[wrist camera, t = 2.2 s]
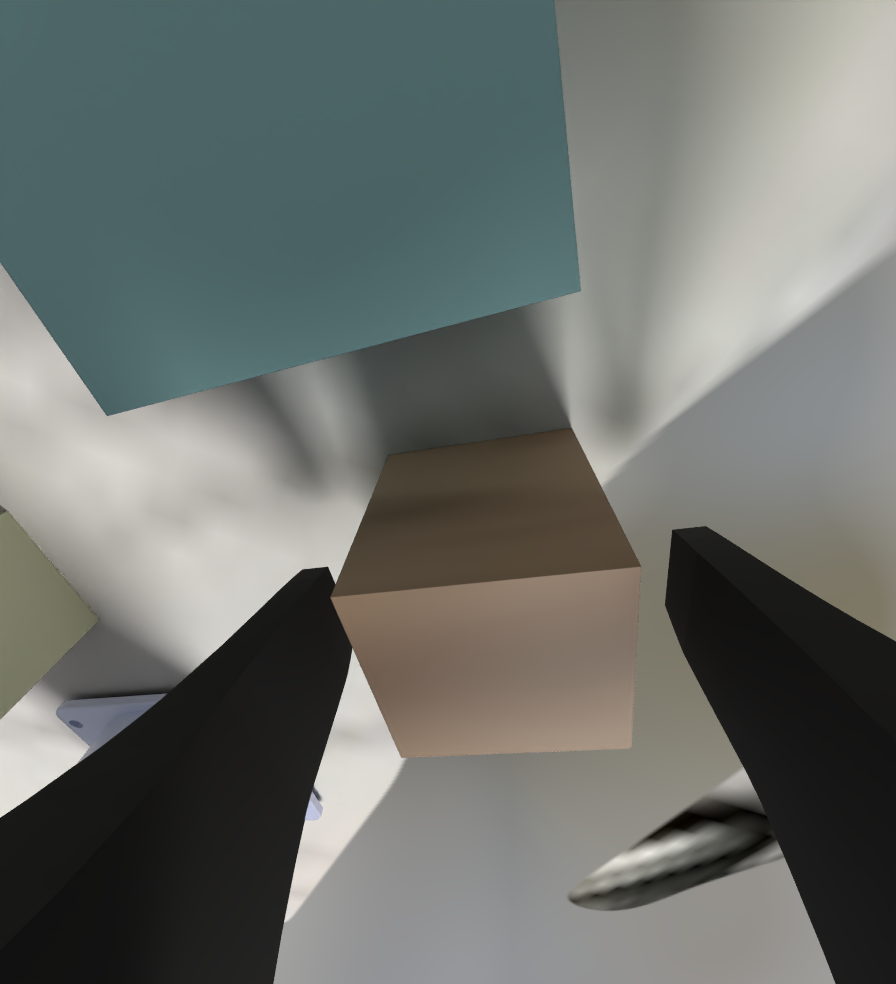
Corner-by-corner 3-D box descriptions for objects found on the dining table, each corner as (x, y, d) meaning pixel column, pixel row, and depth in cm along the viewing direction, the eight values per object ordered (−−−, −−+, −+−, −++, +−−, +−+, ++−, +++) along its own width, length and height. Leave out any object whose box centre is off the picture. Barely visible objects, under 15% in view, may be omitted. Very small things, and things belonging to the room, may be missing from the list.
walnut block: (577, 570, 12) (631, 748, 8) (426, 585, 13) (401, 757, 9) (571, 427, 10) (641, 566, 6) (389, 453, 11) (330, 597, 6)
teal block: (539, 269, 9) (580, 290, 5) (235, 353, 10) (106, 415, 6) (456, -358, 5) (414, -1509, 2) (7, -106, 6) (-527, -498, 3)
